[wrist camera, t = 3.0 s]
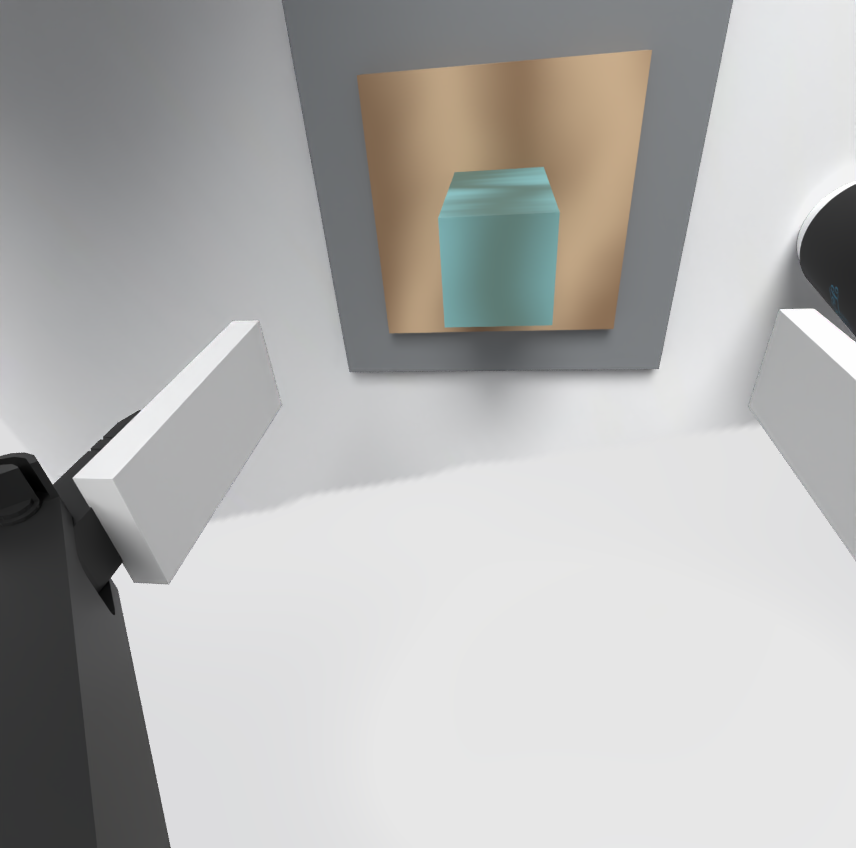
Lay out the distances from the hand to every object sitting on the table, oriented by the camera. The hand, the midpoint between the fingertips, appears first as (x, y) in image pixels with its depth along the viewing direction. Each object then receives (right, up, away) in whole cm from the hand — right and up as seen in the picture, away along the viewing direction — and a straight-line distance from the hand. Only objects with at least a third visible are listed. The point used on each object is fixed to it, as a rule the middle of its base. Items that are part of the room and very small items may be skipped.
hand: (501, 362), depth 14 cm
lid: (+2, +9, +12) cm, 15 cm away
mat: (+2, +9, +13) cm, 16 cm away
